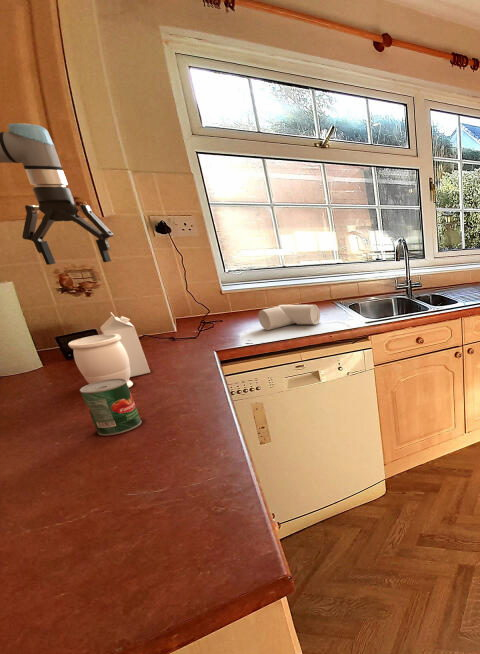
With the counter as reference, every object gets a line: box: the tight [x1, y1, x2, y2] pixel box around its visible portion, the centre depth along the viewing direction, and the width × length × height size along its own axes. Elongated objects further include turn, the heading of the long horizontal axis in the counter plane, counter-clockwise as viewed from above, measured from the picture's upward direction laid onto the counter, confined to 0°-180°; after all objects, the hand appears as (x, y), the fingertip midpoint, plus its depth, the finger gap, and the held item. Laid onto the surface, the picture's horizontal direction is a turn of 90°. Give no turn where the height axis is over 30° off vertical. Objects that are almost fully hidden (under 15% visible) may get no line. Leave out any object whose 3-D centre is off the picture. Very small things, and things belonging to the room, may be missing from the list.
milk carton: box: [99, 311, 151, 378], centre depth 128 cm, size 7×7×19 cm
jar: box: [68, 334, 134, 389], centre depth 118 cm, size 11×10×15 cm
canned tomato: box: [79, 378, 142, 437], centre depth 98 cm, size 8×8×11 cm
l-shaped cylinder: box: [257, 304, 321, 331], centre depth 179 cm, size 18×11×20 cm
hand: (79, 263), depth 128 cm, fingers open, 13 cm apart
